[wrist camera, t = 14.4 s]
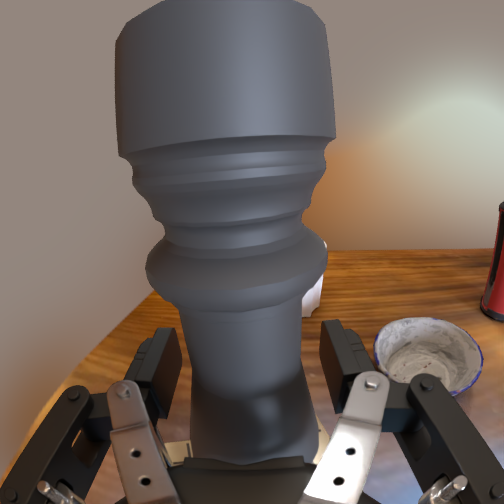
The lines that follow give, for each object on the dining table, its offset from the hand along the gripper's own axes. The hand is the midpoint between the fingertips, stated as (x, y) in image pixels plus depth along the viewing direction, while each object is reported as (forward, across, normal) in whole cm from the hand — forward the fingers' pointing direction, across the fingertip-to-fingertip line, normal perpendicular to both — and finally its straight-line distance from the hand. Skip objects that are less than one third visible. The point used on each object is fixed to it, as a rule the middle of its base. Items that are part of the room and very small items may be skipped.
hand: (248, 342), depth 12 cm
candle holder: (-2, 0, +14) cm, 14 cm away
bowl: (+9, -18, +15) cm, 25 cm away
